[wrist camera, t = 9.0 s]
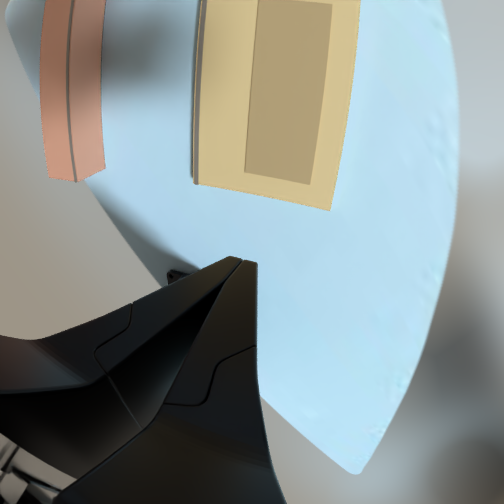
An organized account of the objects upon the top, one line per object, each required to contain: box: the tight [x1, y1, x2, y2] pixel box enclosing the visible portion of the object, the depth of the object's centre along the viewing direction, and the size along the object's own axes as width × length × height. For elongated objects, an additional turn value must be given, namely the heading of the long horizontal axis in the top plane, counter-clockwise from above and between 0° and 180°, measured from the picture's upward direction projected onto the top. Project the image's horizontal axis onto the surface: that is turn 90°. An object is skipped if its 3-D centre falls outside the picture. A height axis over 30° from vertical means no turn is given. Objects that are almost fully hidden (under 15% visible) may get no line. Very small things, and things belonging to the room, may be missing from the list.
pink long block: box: [40, 0, 106, 182], centre depth 17 cm, size 18×5×4 cm, turn 176°
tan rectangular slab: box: [193, 0, 360, 211], centre depth 15 cm, size 18×10×1 cm, turn 176°
